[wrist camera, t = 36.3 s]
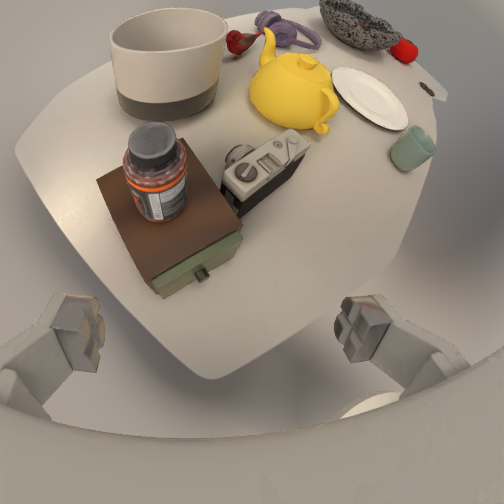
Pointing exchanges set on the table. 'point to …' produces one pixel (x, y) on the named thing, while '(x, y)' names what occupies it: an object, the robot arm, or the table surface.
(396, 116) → the plate
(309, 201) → the table surface
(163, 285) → the drawer
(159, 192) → the supplement bottle
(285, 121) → the teapot
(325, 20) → the bowl
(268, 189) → the camera
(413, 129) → the cup
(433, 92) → the corroded twin loop
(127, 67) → the planter
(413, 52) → the tomato
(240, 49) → the decorative bird figurine
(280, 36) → the headphones
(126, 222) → the cabinet
